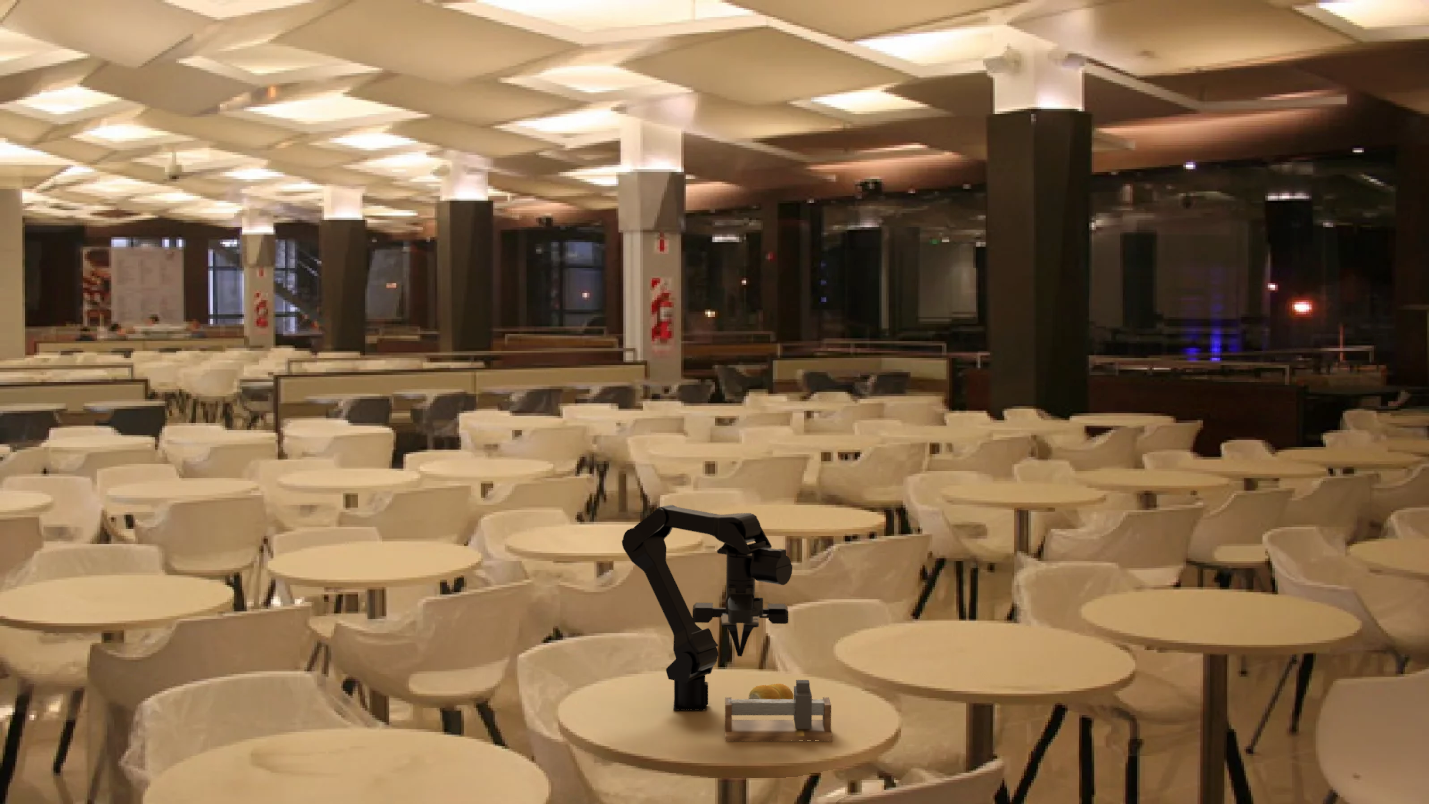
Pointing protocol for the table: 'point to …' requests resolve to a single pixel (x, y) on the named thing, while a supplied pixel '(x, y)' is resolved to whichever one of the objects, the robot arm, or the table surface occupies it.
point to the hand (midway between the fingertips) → (739, 655)
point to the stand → (776, 728)
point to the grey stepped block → (803, 705)
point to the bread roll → (771, 692)
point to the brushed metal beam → (771, 706)
